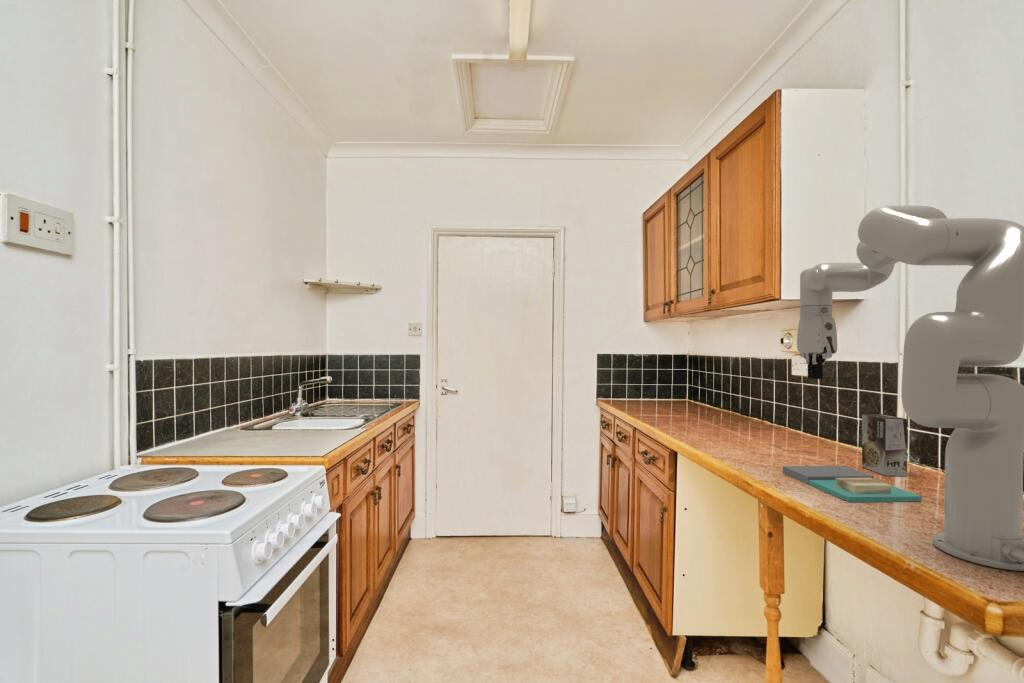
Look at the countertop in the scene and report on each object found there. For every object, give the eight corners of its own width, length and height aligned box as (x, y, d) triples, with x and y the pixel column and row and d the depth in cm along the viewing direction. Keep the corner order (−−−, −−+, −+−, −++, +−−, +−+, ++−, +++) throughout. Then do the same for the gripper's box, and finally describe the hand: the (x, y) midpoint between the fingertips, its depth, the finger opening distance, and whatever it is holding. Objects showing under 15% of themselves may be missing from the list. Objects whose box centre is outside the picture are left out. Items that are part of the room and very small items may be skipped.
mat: (921, 501, 106) (921, 496, 106) (848, 502, 105) (848, 497, 105) (874, 484, 119) (874, 479, 119) (808, 484, 118) (808, 480, 118)
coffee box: (908, 476, 126) (909, 418, 126) (885, 476, 126) (885, 418, 126) (882, 467, 135) (882, 413, 135) (860, 467, 135) (861, 413, 135)
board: (873, 483, 119) (873, 476, 119) (807, 484, 118) (807, 476, 118) (843, 472, 129) (843, 465, 129) (782, 473, 128) (782, 466, 128)
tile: (891, 493, 108) (891, 485, 108) (854, 493, 107) (854, 485, 107) (869, 485, 114) (870, 477, 114) (835, 485, 113) (835, 477, 113)
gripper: (850, 311, 118) (849, 381, 118) (809, 314, 133) (808, 376, 133) (822, 310, 118) (822, 381, 118) (785, 314, 133) (784, 376, 133)
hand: (815, 378), depth 126 cm, fingers closed
